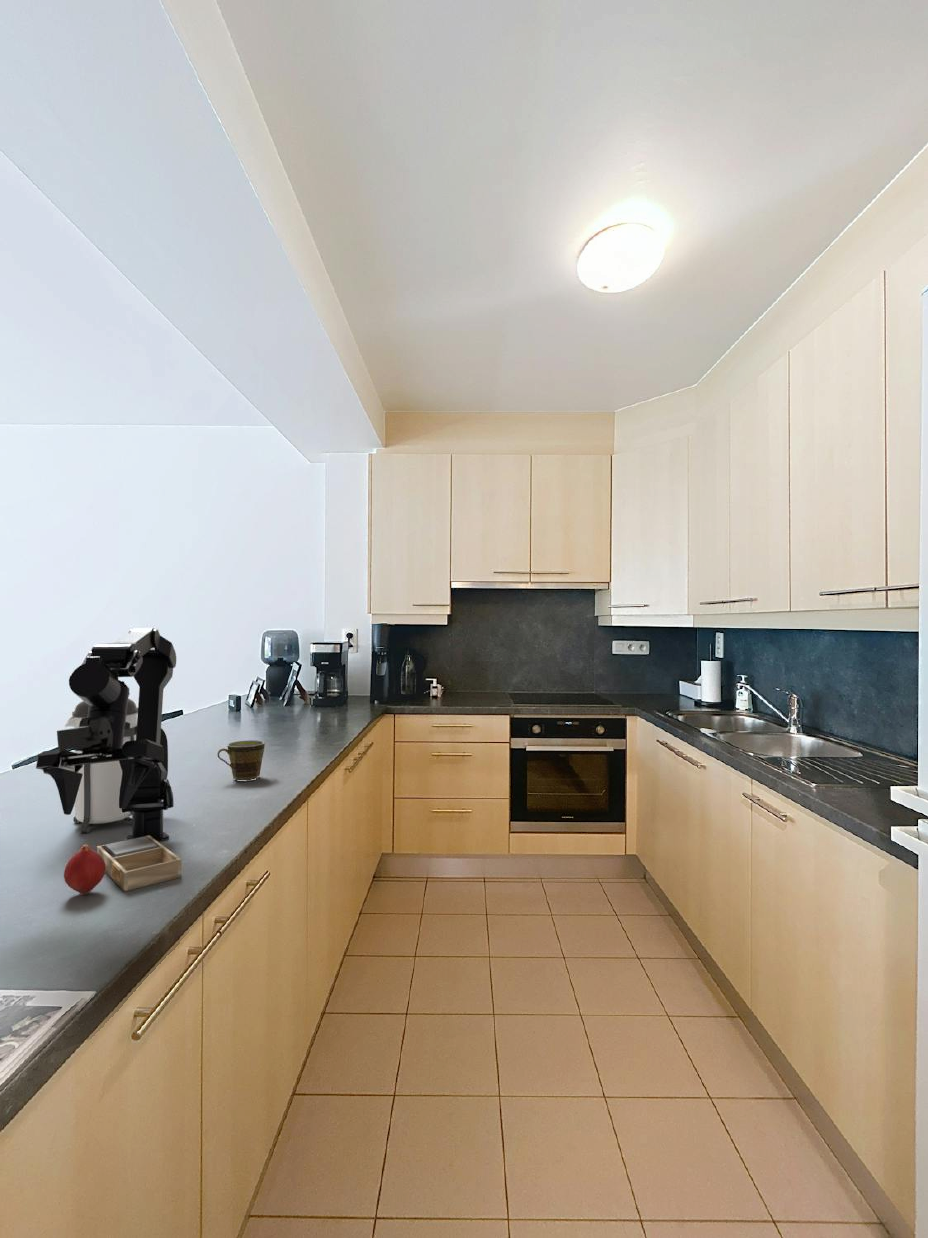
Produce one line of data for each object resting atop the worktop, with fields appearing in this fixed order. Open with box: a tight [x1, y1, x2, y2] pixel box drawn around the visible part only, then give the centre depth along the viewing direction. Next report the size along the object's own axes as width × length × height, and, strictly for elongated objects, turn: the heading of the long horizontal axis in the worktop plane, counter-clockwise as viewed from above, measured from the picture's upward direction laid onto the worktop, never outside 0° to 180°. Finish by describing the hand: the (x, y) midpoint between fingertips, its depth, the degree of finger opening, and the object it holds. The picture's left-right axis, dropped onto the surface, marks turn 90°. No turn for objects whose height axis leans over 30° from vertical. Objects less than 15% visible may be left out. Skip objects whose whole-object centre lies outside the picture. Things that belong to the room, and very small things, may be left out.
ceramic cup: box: [216, 739, 266, 780], centre depth 183 cm, size 13×10×10 cm
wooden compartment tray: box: [96, 835, 182, 892], centre depth 116 cm, size 18×9×3 cm, turn 42°
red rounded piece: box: [63, 844, 106, 895], centre depth 106 cm, size 6×6×8 cm
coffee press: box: [64, 698, 169, 834], centre depth 145 cm, size 17×16×30 cm
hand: (94, 811), depth 103 cm, fingers open, 9 cm apart
